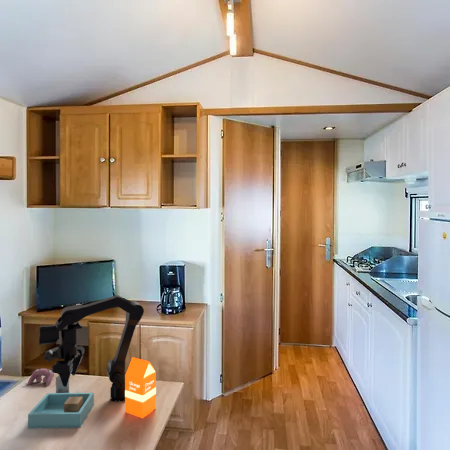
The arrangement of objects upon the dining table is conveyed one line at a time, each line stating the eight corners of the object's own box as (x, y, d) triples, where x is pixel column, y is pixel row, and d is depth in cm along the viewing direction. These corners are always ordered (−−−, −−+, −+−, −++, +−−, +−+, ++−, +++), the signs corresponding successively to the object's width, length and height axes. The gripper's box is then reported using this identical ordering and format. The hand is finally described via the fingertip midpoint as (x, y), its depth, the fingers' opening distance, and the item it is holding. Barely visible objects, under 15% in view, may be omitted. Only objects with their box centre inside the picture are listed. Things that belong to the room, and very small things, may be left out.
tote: (93, 405, 143) (93, 392, 143) (80, 427, 128) (80, 413, 128) (47, 405, 142) (47, 393, 142) (28, 428, 127) (28, 414, 127)
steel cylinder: (70, 390, 155) (70, 374, 154) (66, 396, 150) (66, 379, 149) (58, 390, 154) (58, 374, 154) (53, 396, 149) (53, 380, 149)
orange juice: (142, 418, 134) (142, 365, 133) (124, 412, 138) (124, 360, 138) (156, 408, 141) (156, 357, 140) (138, 402, 145) (138, 353, 144)
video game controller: (53, 386, 162) (56, 369, 165) (47, 386, 158) (51, 368, 161) (32, 385, 163) (36, 368, 166) (26, 384, 159) (30, 367, 161)
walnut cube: (82, 409, 138) (82, 396, 138) (77, 417, 133) (77, 403, 133) (69, 409, 138) (69, 396, 138) (64, 417, 133) (63, 403, 133)
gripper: (56, 332, 148) (56, 370, 149) (36, 350, 130) (37, 393, 130) (84, 332, 149) (84, 369, 150) (68, 349, 130) (69, 392, 131)
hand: (69, 380), depth 140 cm, fingers open, 9 cm apart
